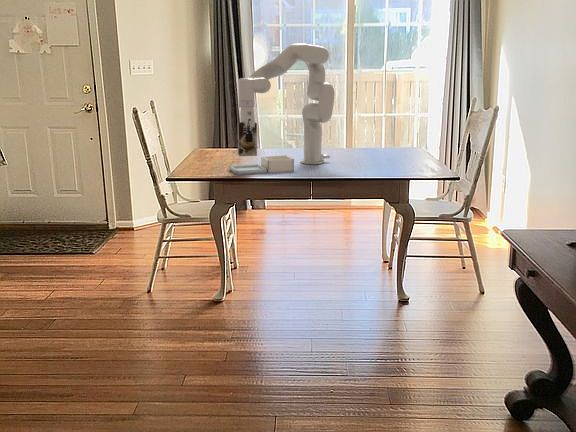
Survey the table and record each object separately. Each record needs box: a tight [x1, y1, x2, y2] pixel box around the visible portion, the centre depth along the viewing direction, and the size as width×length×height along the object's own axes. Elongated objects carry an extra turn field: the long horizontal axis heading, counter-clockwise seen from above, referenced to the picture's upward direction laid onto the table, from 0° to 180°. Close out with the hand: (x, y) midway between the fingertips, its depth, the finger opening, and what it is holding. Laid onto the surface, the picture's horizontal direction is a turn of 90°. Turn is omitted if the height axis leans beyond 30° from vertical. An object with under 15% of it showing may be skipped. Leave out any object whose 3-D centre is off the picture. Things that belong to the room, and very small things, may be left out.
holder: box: [260, 154, 295, 173], centre depth 291 cm, size 14×12×6 cm
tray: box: [229, 163, 267, 176], centre depth 286 cm, size 15×14×2 cm
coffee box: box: [236, 121, 258, 157], centre depth 282 cm, size 9×6×16 cm
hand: (247, 140), depth 282 cm, fingers closed on coffee box, 6 cm apart
